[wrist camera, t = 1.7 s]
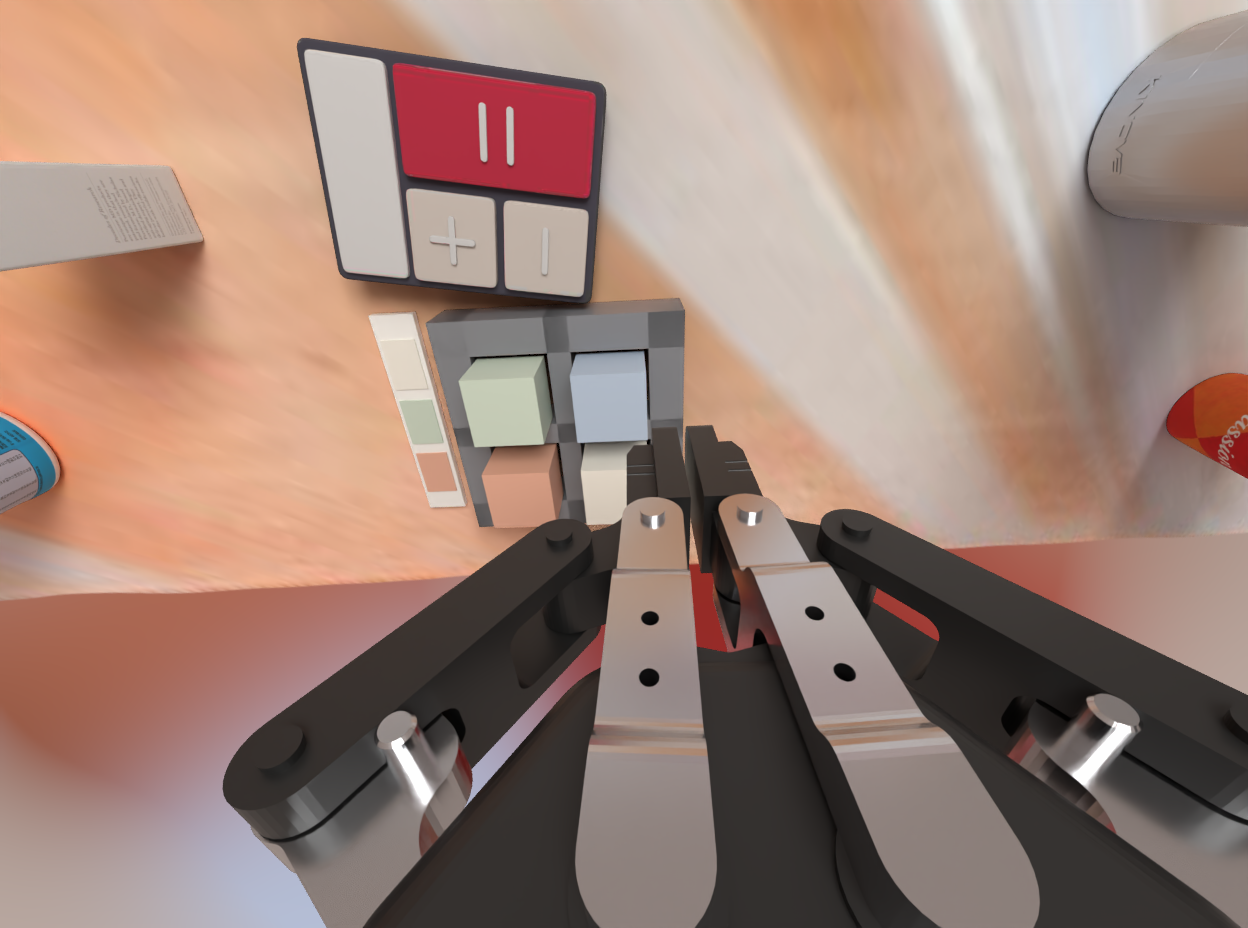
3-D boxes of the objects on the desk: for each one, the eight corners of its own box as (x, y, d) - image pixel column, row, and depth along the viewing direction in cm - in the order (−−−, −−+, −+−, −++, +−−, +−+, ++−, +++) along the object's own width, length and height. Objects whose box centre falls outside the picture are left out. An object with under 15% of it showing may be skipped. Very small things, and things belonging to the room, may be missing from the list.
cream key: (646, 439, 34) (648, 468, 30) (647, 490, 36) (650, 522, 33) (585, 442, 34) (580, 471, 30) (590, 492, 36) (586, 525, 33)
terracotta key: (556, 443, 34) (548, 472, 30) (563, 493, 36) (556, 526, 33) (496, 445, 34) (481, 475, 31) (507, 495, 36) (494, 528, 33)
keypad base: (679, 298, 32) (684, 310, 29) (677, 494, 40) (681, 519, 37) (444, 310, 32) (425, 323, 29) (490, 501, 40) (479, 526, 37)
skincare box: (117, 247, 30) (-147, 280, 20) (75, 168, 28) (-246, 160, 18) (210, 243, 30) (-8, 275, 20) (174, 164, 28) (-91, 153, 18)
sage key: (544, 355, 31) (533, 377, 27) (552, 416, 33) (544, 444, 29) (477, 358, 31) (458, 380, 27) (490, 419, 33) (474, 447, 30)
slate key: (643, 350, 30) (646, 372, 27) (645, 412, 33) (647, 440, 29) (576, 354, 30) (569, 375, 27) (582, 415, 33) (577, 443, 29)
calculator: (591, 308, 29) (332, 281, 27) (591, 293, 32) (364, 269, 31) (607, 80, 23) (283, 30, 22) (606, 93, 27) (329, 52, 25)
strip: (415, 311, 32) (411, 314, 31) (467, 502, 40) (464, 507, 40) (372, 313, 32) (367, 316, 32) (432, 503, 40) (429, 508, 40)
